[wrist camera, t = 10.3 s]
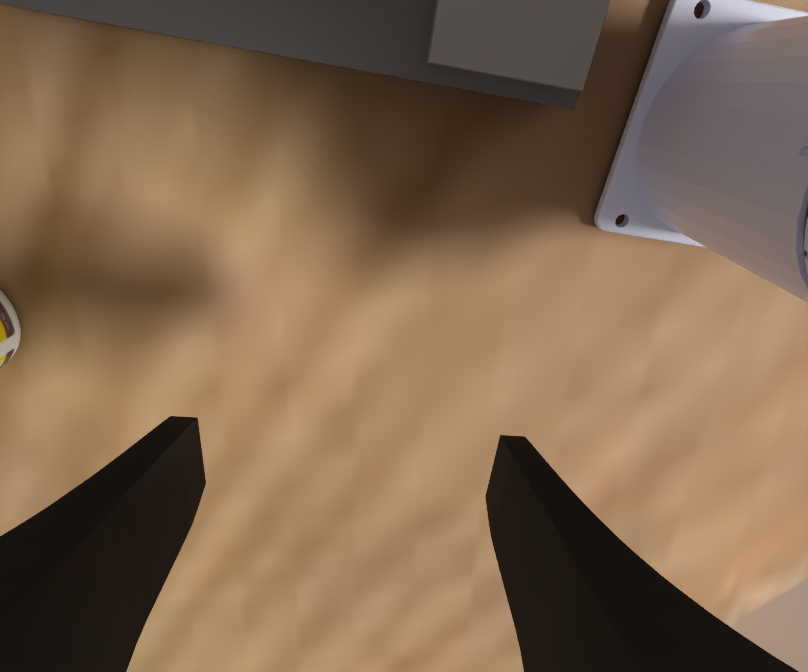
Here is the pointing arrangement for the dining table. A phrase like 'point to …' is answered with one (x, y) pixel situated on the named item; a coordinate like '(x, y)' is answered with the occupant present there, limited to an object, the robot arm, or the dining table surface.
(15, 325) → the supplement bottle
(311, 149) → the dining table surface
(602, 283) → the dining table surface
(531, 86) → the camera body
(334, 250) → the dining table surface
